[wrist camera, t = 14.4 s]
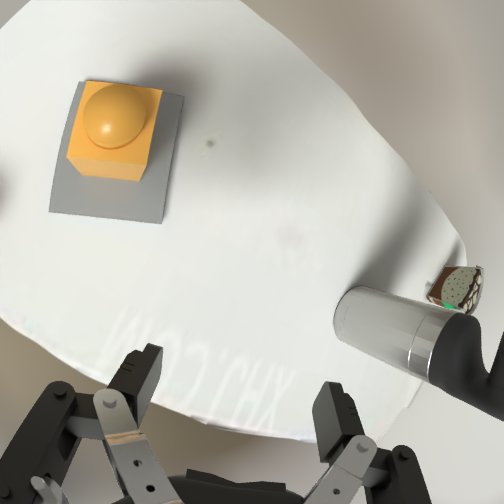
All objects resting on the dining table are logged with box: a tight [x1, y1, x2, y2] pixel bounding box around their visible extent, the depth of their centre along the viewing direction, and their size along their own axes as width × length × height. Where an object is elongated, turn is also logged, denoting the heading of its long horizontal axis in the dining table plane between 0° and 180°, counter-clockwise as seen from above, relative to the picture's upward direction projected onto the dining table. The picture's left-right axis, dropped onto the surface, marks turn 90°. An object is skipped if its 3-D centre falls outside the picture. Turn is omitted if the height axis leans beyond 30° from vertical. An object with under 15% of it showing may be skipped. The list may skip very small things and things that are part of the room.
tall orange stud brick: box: [66, 81, 162, 181], centre depth 21 cm, size 6×6×11 cm
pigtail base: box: [49, 82, 184, 224], centre depth 25 cm, size 12×14×6 cm
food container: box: [426, 265, 484, 315], centre depth 50 cm, size 12×6×10 cm, turn 129°
